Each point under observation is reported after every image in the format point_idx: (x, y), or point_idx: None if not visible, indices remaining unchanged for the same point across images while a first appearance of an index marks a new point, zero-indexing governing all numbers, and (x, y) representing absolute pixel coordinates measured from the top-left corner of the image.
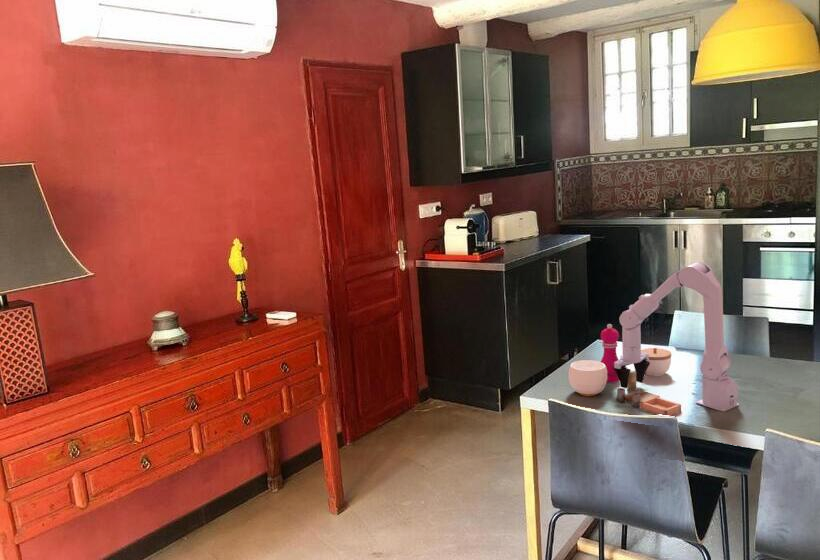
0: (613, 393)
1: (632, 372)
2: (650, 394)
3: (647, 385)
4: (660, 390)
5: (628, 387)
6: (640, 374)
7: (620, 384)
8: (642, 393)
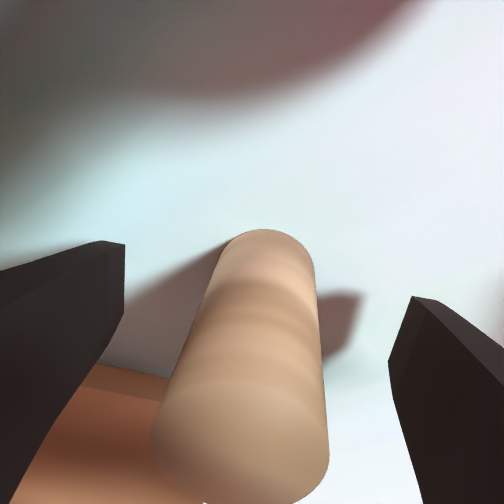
0: (16, 183)
1: (223, 470)
2: (175, 497)
3: None
4: (396, 471)
5: (213, 273)
6: (432, 437)
7: (81, 248)
8: (147, 447)
